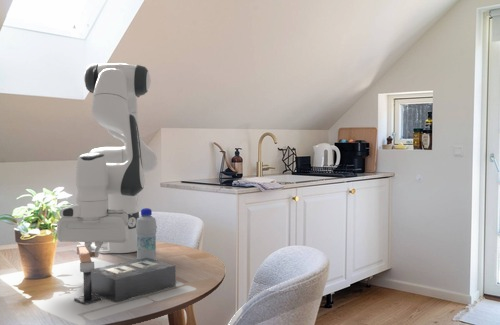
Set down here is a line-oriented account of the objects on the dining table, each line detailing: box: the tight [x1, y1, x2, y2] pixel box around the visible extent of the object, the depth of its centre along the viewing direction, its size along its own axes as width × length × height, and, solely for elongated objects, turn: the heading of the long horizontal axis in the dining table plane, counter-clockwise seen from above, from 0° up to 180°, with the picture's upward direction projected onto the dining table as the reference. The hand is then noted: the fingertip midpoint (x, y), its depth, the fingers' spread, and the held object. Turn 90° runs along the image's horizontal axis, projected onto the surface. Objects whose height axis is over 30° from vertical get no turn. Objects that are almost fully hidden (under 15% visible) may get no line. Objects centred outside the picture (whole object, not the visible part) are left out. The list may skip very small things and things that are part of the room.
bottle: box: [136, 207, 158, 260], centre depth 167 cm, size 7×7×20 cm
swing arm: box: [76, 243, 95, 273], centre depth 146 cm, size 25×4×2 cm, turn 21°
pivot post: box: [73, 272, 102, 306], centre depth 136 cm, size 5×5×8 cm
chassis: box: [91, 258, 177, 303], centre depth 147 cm, size 14×20×6 cm
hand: (93, 257), depth 149 cm, fingers closed
